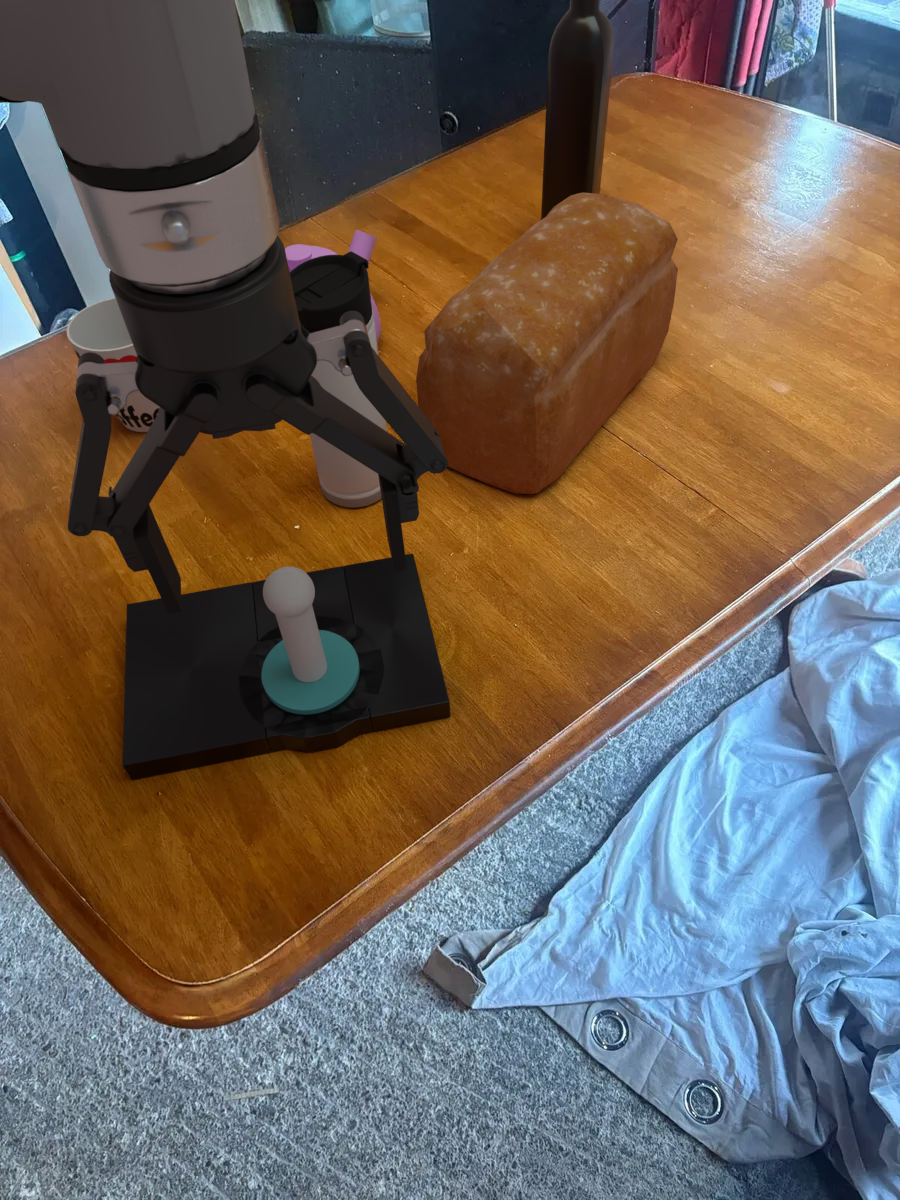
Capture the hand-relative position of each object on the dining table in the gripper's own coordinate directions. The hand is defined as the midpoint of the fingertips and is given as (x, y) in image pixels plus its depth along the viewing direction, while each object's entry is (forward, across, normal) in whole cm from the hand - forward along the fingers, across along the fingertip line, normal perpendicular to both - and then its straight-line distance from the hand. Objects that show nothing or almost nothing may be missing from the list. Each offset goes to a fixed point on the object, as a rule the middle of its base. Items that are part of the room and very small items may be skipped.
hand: (287, 575), depth 54 cm
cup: (+13, -12, +35) cm, 39 cm away
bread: (+13, +25, +28) cm, 39 cm away
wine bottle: (+13, +35, +55) cm, 66 cm away
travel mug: (+13, +6, +21) cm, 25 cm away
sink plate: (+13, -2, +3) cm, 13 cm away
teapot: (+13, +5, +42) cm, 44 cm away
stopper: (+13, 0, 0) cm, 13 cm away
